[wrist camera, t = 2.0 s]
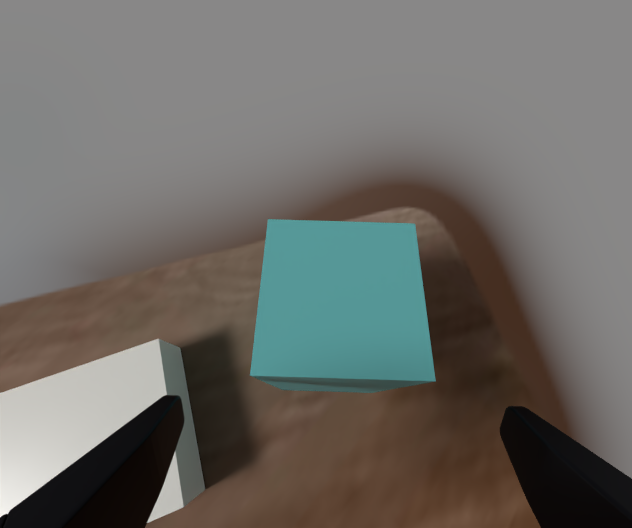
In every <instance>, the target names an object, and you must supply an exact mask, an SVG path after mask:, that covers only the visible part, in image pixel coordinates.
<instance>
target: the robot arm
mask: <svg viewBox="0 0 632 528" xmlns="http://www.w3.org/2000/svg"><path fill="white" fill-rule="evenodd" d="M183 426H184V411H183V405H182V400H181V397H180V396H178V395H165V396H163V397H161V398H160V399H158V400H157V401H156V402H154V403H153V404H152V405H150V406H149V407H148V408H146V409H145V410H144V411H142V412H141V413H140V414H138V415H137V416H136V417H134V418H133V419H132V420H130V421H129V422H128V423H126V424H125V425H124V426H122V427H121V428H120V429H118V430H117V431H115V432H114V433H113V434H111V435H110V436H109V437H107V438H106V439H105V440H103V441H102V442H101V443H99V444H98V445H97V446H95V447H94V448H93V449H91V450H90V451H89V452H87V453H86V454H85V455H83V456H82V457H81V458H79V459H78V460H77V461H75V462H74V463H73V464H71V465H70V466H69V467H67V468H66V469H65V470H63V471H62V472H60V473H59V474H58V475H56V476H55V477H54V478H52V479H51V480H50V481H48V482H47V483H46V484H44V485H43V486H42V487H40V488H39V489H38V490H36V491H35V492H34V493H32V494H31V495H30V496H28V497H27V498H26V499H24V500H23V501H22V502H20V503H19V504H18V505H16V506H15V507H14V508H12V509H11V510H10V511H9V513H8V514H4V515H3V516H1V517H0V528H145V526H146V524H147V522H148V519H149V517H150V515H151V513H152V510H153V508H154V506H155V504H156V502H157V499H158V497H159V495H160V492H161V490H162V487H163V485H164V482H165V479H166V476H167V473H168V470H169V468H170V465H171V462H172V459H173V456H174V453H175V450H176V447H177V444H178V441H179V438H180V435H181V432H182V429H183ZM500 435H501V438H502V441H503V443H504V446H505V448H506V451H507V453H508V456H509V458H510V460H511V463H512V465H513V468H514V470H515V473H516V475H517V477H518V480H519V482H520V485H521V487H522V489H523V492H524V494H525V496H526V499H527V501H528V503H529V505H530V507H531V509H532V511H533V513H534V515H535V517H536V519H537V521H538V523H539V525H540V527H541V528H632V479H631V478H630V477H628V476H627V475H625V474H624V473H622V472H621V471H619V470H618V469H616V468H615V467H613V466H612V465H610V464H609V463H607V462H606V461H604V460H603V459H602V458H600V457H598V456H597V455H596V454H594V453H593V452H591V451H590V450H588V449H587V448H585V447H584V446H582V445H581V444H579V443H578V442H576V441H574V440H573V439H572V438H570V437H569V436H567V435H566V434H564V433H563V432H561V431H560V430H558V429H557V428H555V427H554V426H552V425H551V424H550V423H548V422H547V421H545V420H544V419H542V418H541V417H539V416H538V415H536V414H535V413H533V412H532V411H530V410H529V409H527V408H525V407H522V406H509V407H507V408H506V410H505V414H504V417H503V420H502V423H501V426H500Z"/></svg>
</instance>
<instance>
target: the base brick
mask: <svg viewBox="0 0 632 528" xmlns="http://www.w3.org/2000/svg"><path fill="white" fill-rule="evenodd" d="M165 395H178V396H180V397H181V400H182V405H183V411H184V426H183V429H182V432H181V435H180V438H179V441H178V444H177V447H176V450H175V453H174V456H173V459H172V462H171V465H170V468H169V470H168V473H167V476H166V479H165V482H164V485H163V487H162V490H161V492H160V495H159V497H158V499H157V502H156V504H155V506H154V508H153V510H152V513H151V515H150V517H149V519H148V522H151V521H153V520H155V519H157V518H160V517H162V516H164V515H167V514H169V513H171V512H174V511H176V510H178V509H180V508H183V507H184V506H186V505H187V504H188V503H189V502H191V501H192V500H193V499H194V498H196V497H197V496H198V495H199V494H200V493H202V492H203V491H204V490H205V485H204V479H203V474H202V468H201V462H200V457H199V451H198V445H197V440H196V434H195V428H194V423H193V417H192V411H191V406H190V400H189V394H188V389H187V383H186V378H185V372H184V366H183V361H182V355H181V349H180V347H177V346H175V345H172V344H170V343H168V342H165V341H163V340H160V339H156V340H154V341H151V342H148V343H145V344H142V345H139V346H136V347H133V348H130V349H127V350H124V351H122V352H119V353H116V354H113V355H110V356H107V357H104V358H101V359H98V360H95V361H92V362H90V363H87V364H84V365H81V366H78V367H75V368H72V369H69V370H66V371H63V372H61V373H58V374H55V375H52V376H49V377H46V378H43V379H40V380H37V381H34V382H31V383H29V384H26V385H23V386H20V387H17V388H14V389H11V390H8V391H5V392H2V393H0V517H1V516H3V515H4V514H8V513H9V511H10V510H11V509H12V508H14V507H15V506H16V505H18V504H19V503H20V502H22V501H23V500H24V499H26V498H27V497H28V496H30V495H31V494H32V493H34V492H35V491H36V490H38V489H39V488H40V487H42V486H43V485H44V484H46V483H47V482H48V481H50V480H51V479H52V478H54V477H55V476H56V475H58V474H59V473H60V472H62V471H63V470H65V469H66V468H67V467H69V466H70V465H71V464H73V463H74V462H75V461H77V460H78V459H79V458H81V457H82V456H83V455H85V454H86V453H87V452H89V451H90V450H91V449H93V448H94V447H95V446H97V445H98V444H99V443H101V442H102V441H103V440H105V439H106V438H107V437H109V436H110V435H111V434H113V433H114V432H115V431H117V430H118V429H120V428H121V427H122V426H124V425H125V424H126V423H128V422H129V421H130V420H132V419H133V418H134V417H136V416H137V415H138V414H140V413H141V412H142V411H144V410H145V409H146V408H148V407H149V406H150V405H152V404H153V403H154V402H156V401H157V400H158V399H160V398H161V397H163V396H165ZM148 522H147V523H148Z"/></svg>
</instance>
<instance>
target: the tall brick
mask: <svg viewBox="0 0 632 528" xmlns="http://www.w3.org/2000/svg"><path fill="white" fill-rule="evenodd" d="M250 376H252V377H255V378H257V379H259V380H261V381H263V382H266V383H268V384H270V385H272V386H275V387H277V388H279V389H281V390H299V391H331V392H363V393H374V392H379V391H385V390H390V389H396V388H401V387H407V386H413V385H418V384H424V383H429V382H435V381H436V380H435V373H434V365H433V357H432V350H431V342H430V334H429V327H428V319H427V312H426V304H425V296H424V289H423V281H422V273H421V266H420V258H419V251H418V243H417V235H416V228H415V224H408V223H374V222H341V221H306V220H273V219H272V220H271V219H269V220H268V224H267V233H266V241H265V250H264V259H263V268H262V276H261V285H260V294H259V302H258V311H257V320H256V329H255V337H254V346H253V355H252V363H251V372H250Z"/></svg>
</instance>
